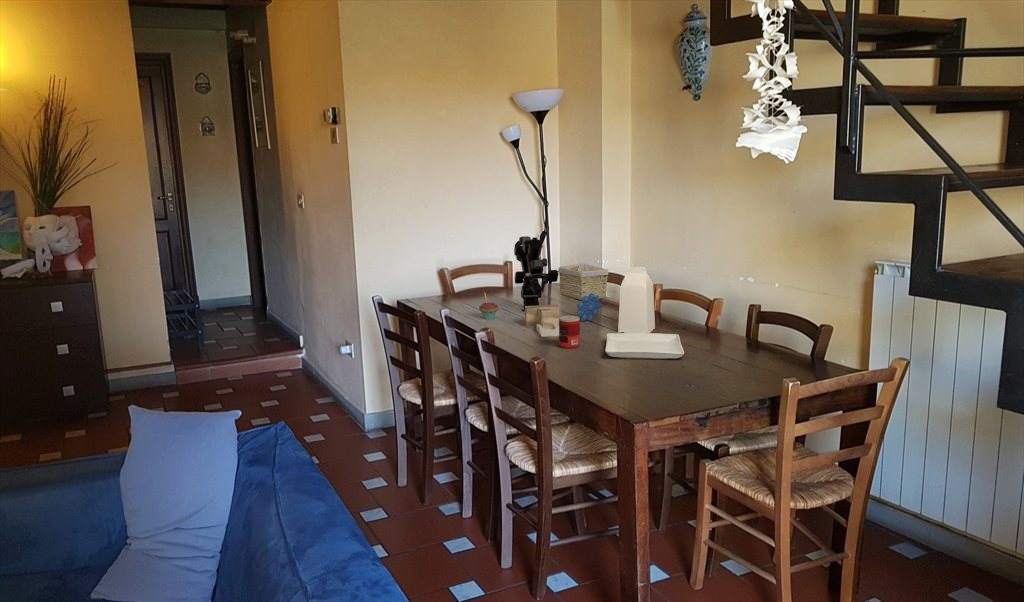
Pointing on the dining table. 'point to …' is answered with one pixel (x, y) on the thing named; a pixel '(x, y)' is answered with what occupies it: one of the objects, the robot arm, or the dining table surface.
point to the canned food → (569, 332)
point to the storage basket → (583, 281)
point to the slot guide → (548, 332)
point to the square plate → (644, 345)
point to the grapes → (588, 307)
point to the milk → (636, 302)
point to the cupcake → (488, 309)
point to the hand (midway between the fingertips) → (539, 292)
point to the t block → (542, 316)
